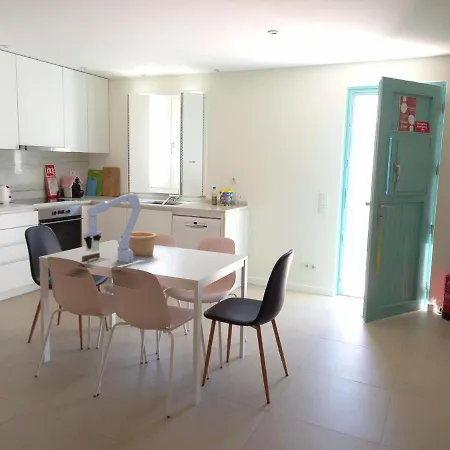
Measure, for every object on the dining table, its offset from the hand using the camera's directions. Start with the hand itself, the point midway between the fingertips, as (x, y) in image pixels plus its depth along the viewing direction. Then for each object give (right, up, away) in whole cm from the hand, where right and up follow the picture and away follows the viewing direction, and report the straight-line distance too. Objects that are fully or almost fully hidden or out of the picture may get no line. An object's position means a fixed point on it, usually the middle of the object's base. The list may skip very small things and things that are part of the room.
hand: (92, 247), depth 281 cm
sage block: (0, -2, 0) cm, 2 cm away
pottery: (+24, -7, +30) cm, 39 cm away
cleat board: (+1, -9, +4) cm, 10 cm away
